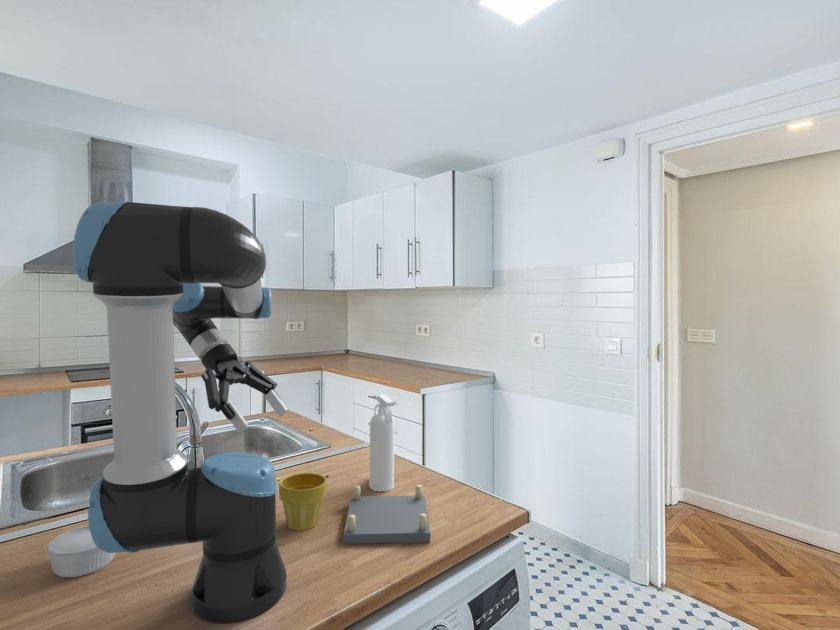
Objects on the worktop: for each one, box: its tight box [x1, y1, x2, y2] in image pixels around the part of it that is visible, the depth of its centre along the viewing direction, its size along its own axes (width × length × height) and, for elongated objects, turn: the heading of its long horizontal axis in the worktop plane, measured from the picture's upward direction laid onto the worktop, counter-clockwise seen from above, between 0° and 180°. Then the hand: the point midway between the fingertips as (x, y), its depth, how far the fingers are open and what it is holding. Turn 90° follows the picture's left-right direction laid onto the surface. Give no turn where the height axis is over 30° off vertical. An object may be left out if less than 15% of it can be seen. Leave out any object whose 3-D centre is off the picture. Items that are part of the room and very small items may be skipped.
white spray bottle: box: [369, 393, 396, 493], centre depth 123 cm, size 7×12×25 cm, turn 25°
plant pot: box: [278, 472, 328, 532], centre depth 103 cm, size 10×10×10 cm
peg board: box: [343, 484, 431, 545], centre depth 104 cm, size 18×18×5 cm
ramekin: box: [46, 524, 117, 578], centre depth 87 cm, size 11×11×5 cm
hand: (265, 420), depth 106 cm, fingers open, 13 cm apart
